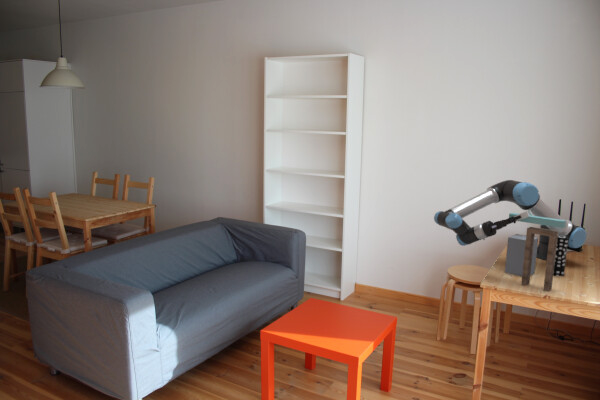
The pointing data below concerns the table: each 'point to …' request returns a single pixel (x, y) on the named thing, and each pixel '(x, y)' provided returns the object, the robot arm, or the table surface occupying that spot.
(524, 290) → the table surface
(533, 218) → the bar
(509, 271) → the block
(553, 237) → the stand
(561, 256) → the white-spotted black cylinder
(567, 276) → the table surface
